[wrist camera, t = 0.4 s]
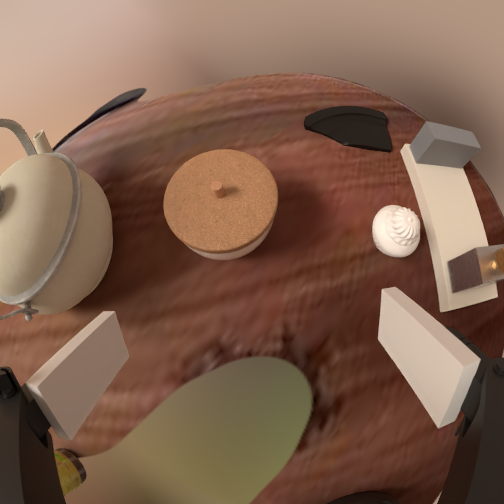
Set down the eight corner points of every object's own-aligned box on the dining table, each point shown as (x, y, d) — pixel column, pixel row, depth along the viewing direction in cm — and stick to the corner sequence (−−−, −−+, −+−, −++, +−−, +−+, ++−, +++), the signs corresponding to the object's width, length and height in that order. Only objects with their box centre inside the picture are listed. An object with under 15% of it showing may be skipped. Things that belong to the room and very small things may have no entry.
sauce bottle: (73, 444, 24) (-28, 484, 5) (95, 481, 22) (9, 538, 3) (48, 448, 23) (-44, 477, 4) (69, 482, 21) (-14, 526, 2)
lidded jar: (264, 180, 34) (265, 130, 25) (282, 262, 31) (292, 231, 22) (179, 195, 33) (156, 151, 24) (188, 279, 30) (160, 255, 21)
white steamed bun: (404, 222, 32) (431, 198, 25) (405, 268, 30) (436, 251, 23) (362, 213, 32) (384, 186, 25) (361, 261, 30) (386, 241, 24)
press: (489, 299, 28) (525, 288, 20) (440, 312, 28) (480, 303, 20) (449, 157, 35) (473, 130, 27) (400, 151, 35) (422, 117, 27)
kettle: (140, 319, 29) (-62, 263, 5) (36, 339, 28) (-110, 312, 4) (124, 149, 36) (48, 18, 12) (36, 189, 35) (-53, 106, 11)
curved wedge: (302, 104, 38) (303, 97, 37) (381, 118, 38) (384, 111, 36) (303, 142, 36) (305, 135, 34) (391, 156, 35) (395, 150, 34)
